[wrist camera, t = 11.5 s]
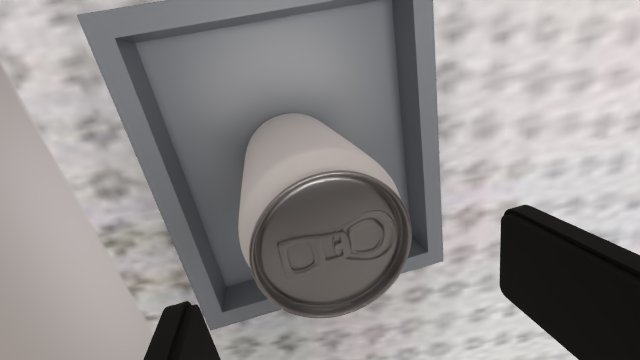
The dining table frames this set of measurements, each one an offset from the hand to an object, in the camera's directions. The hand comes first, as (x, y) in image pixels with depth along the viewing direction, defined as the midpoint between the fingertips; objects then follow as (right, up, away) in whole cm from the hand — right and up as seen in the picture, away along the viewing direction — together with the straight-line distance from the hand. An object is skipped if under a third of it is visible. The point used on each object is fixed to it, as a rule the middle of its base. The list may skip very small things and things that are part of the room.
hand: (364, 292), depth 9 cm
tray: (-3, +5, +13) cm, 14 cm away
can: (-3, +5, +12) cm, 14 cm away
